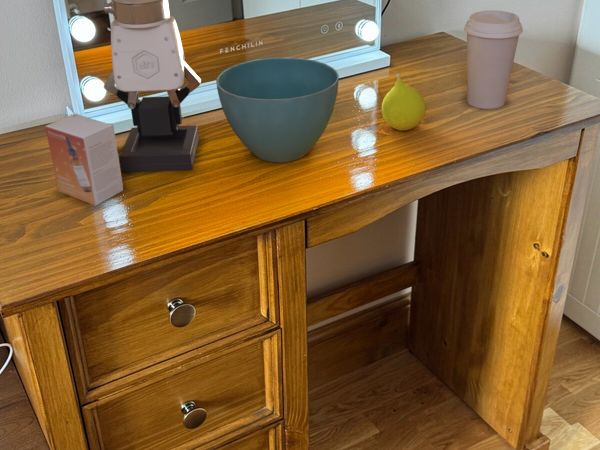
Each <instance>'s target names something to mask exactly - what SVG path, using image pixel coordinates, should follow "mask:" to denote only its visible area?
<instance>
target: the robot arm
mask: <svg viewBox="0 0 600 450" xmlns="http://www.w3.org/2000/svg"><path fill="white" fill-rule="evenodd" d="M103 10H104V13H105V14H110V15H113V17H114V20H112V21H111V23H110V46H111V47H110V53H111V62H112V70H111V72H110V74H109V76H108V78H107V79H106V81H105V82H104V85H103V89H104V90H106V91H107V92H109V93H111V94H113V95H114V96H116V97H117V98H118V99H119V100H120V101H122V102H123V103H124V104H126V105H127V108H128V109H129V110H130V113H131V118H132V124H133V126H134V127H136V128H137V129H138V133H142V132H141V125H140V119H139V112H138V108H139V105H140V103H141V100H140V93H146V92H147V93H151V92H152V93H155V92H166V93H167V96H169V98H170V101H171V102H170V104H171V105H170V108H169V111H170V119H171V126H172V131H173V132H177V129H178V126H180V125H182V124H183V115H182V108H181V103H183V102H184V100H185V99H186V98H187V97H188V96H189V95H190V94H191V93H192V92H194V90H196V89H197V88H198V87H200V85H201V82H202V79H201V78H200V77H199V76H198V75H197V74H196V72H195V71H194V70H193V69H192V68H191V67H190V66H189V64H187V62H186V59H185V54H184V53H185V52H184V48H183V44H182V40H181V39H182V38H181V35H180V31H179V28H178V24H177V22H176V19H175V16H173V15H170V6H169V0H112V1H111V2H110V1H109V3H104V4H103ZM185 79H186V80H187V82H186V84H185V81H186V80H185Z"/></svg>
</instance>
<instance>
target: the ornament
mask: <svg viewBox="0 0 600 450" xmlns="http://www.w3.org/2000/svg"><path fill="white" fill-rule="evenodd" d="M396 68H397V70H399V69H398V65H397V66H396ZM395 75H396V82H395V84H394V85H393V87H391V89H390V90H389V91H388V92H387V93H386V95H385V96H384V97H383V100H382V103H381V108H380V109H381V115H382V118H383V120H384V121H385V123H386V124H387V125H388V126H389V127H391V128H392V129H395V130H398V131H408V130H412V129H415V128H416V127H417V126H418V125H419V124H420V123H421V122H422V121H423V119H424V117H425V114H426V109H427V108H426V101H425V99H424V97H423V95H422V94H421V92H419V91H418V90H417V89H415V88H414V87H412V86H410V85H408V84H406V83H405V82H404V81H403V80H402V79H403V78H402V77H401V73H399V72H398V73H395Z"/></svg>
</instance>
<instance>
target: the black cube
mask: <svg viewBox="0 0 600 450" xmlns="http://www.w3.org/2000/svg"><path fill="white" fill-rule="evenodd" d="M141 98H142V99H141V100H140V101H141V103H140V105H139V108H138V112H139V119H140V125H141V132H142V136H157V135H172V132H173V131H172V126H171V119H170V111H169V108H170V105H171V104H170V102H171V101H170V98H169V96H168V95H167V96H142V97H141Z"/></svg>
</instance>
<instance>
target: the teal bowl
mask: <svg viewBox="0 0 600 450" xmlns="http://www.w3.org/2000/svg"><path fill="white" fill-rule="evenodd" d="M215 81H216V83H215V84H216V90H217V94H218V99H219V102H220V106H221V108H222V111H223V113H224V115H225V118H226V120H227V122H228V124H229V126H230V128H231V129H232V131H233V132H234V134H235V135H236V137H237V138H238V140H239V141H240V142H241V143H242V144H243V146H245V148H247V150H249V152H250V153H252V154H253V155H254V156H255V157H257V158H258V159H259V160H262V161H265V162H270V163H290V162H294V161H297V160H299V159H302V158H303V157H305V156H306V155H307V154H308V153H309V152H310V151H311V150H312V149H313V148H314V146H315V145H316V144H317V143H318V141H319V140H320V139H321V137H322V135H323V134H324V132H325V131H326V129H327V127H328V125H329V122H330V120H331V119H332V118H331V117H332V115H333V113H334V109H335V105H336V101H337V97H338V91H339V81H340V76H339V73H338V71H337V70H336V68H334V67H332V66H331V65H329V64H326V63H324V62H321V61H318V60H314V59H308V58H302V57H301V58H300V57H267V58H266V57H265V58H260V59H259V58H258V59H253V60H249V61H248V60H247V61H244V62H241V63H238V64H235V65H232V66H229V67H228V68H226V69H225V70H223V71H222V72H220V73H219V74H218V76H217V77H216V80H215Z"/></svg>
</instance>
